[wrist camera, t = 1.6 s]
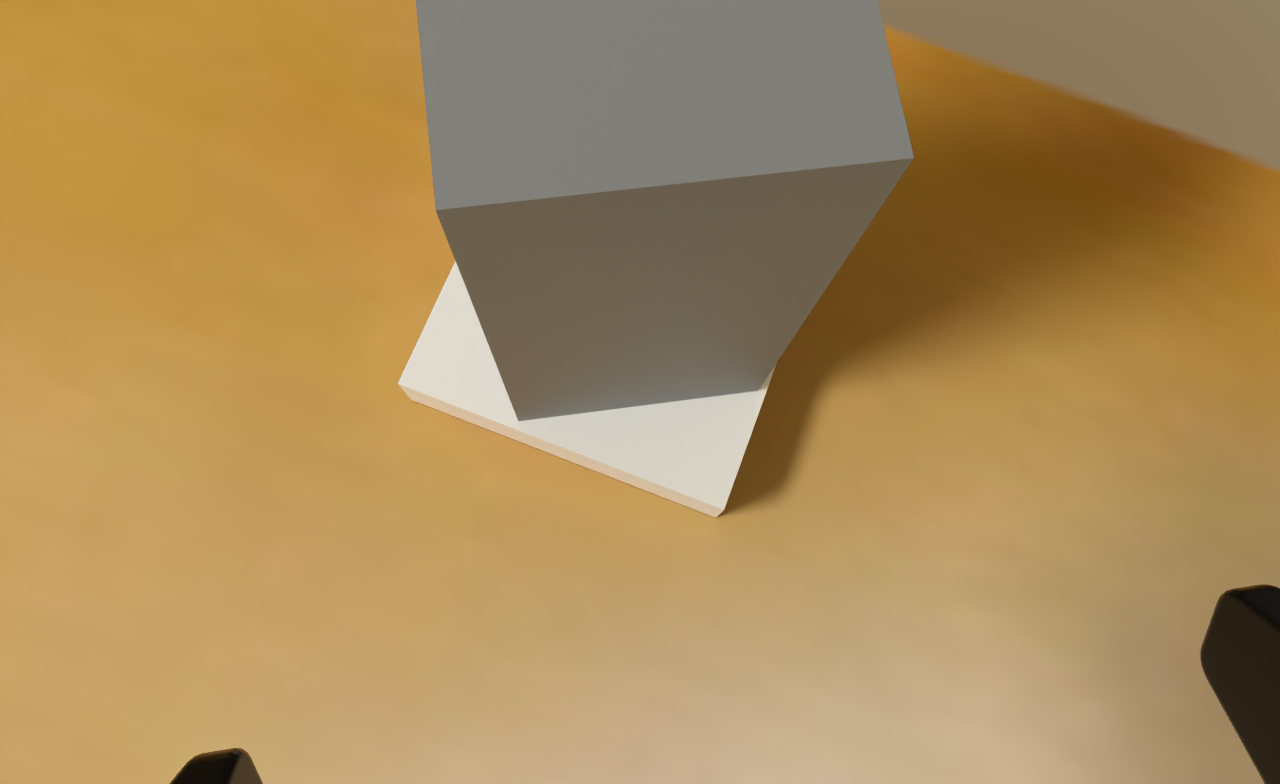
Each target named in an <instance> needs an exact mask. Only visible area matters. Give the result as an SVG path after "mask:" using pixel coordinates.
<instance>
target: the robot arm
mask: <svg viewBox="0 0 1280 784" xmlns="http://www.w3.org/2000/svg"><path fill="white" fill-rule="evenodd" d="M1201 663H1202V667H1203V670H1204V673H1205V676H1206V678H1207V680H1208V682H1209V683H1210V685H1211V687H1212V689H1213V691H1214V692H1215V694H1216V696H1217V698H1218V700H1219V701H1220V703H1221V705H1222V707H1223V709H1224V711H1225V712H1226V714H1227V716H1228V718H1229V720H1230V721H1231V723H1232V725H1233V727H1234V729H1235V730H1236V732H1237V734H1238V736H1239V738H1240V740H1241V741H1242V743H1243V745H1244V747H1245V749H1246V750H1247V752H1248V754H1249V756H1250V758H1251V759H1252V761H1253V763H1254V765H1255V767H1256V769H1257V770H1258V772H1259V774H1260V776H1261V778H1262V779H1263V781H1264V783H1265V784H1280V588H1278V587H1275V586H1271V585H1255V586H1249V587H1243V588H1236V589H1231V590H1228V591H1226V592H1225V593H1223V594H1222V595H1221V596H1220V598H1219V600H1218V602H1217V604H1216V607H1215V610H1214V613H1213V616H1212V618H1211V621H1210V624H1209V627H1208V630H1207V633H1206V635H1205V638H1204V641H1203V644H1202V647H1201ZM170 784H263V783H262V781H261V779H260V776H259V774H258V772H257V770H256V768H255V766H254V764H253V761H252V759H251V757H250V756H249V754H248V753H247V752H246V751H245V750H243V749H241V748H233V749H226V750H220V751H214V752H208V753H203V754H199V755H197V756H195V757H193V758H192V759H191V760H190V761H188V762H187V763H186V765H185V766H184V767H183V768H182V769H181V770H180V772H179V773H178V774H177V775H176V777H175V778H174V779H173V780H172V781H171V783H170Z"/></svg>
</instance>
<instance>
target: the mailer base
mask: <svg viewBox="0 0 1280 784" xmlns="http://www.w3.org/2000/svg"><path fill="white" fill-rule="evenodd" d="M776 364H777V363H776ZM775 367H776V365H775V366H774V368H773V369H772V371H771V372H770V374H769V375H768V377H767V378H766V380H765V381H764V383H763V384H762V386H761V387H760V389H759V390H758V391H752V392H745V393H737V394H729V395H721V396H713V397H705V398H697V399H690V400H682V401H674V402H666V403H658V404H650V405H643V406H635V407H627V408H619V409H611V410H603V411H595V412H588V413H580V414H572V415H564V416H556V417H548V418H540V419H533V420H525V421H518V419H517V417H516V414H515V411H514V409H513V406H512V404H511V401H510V399H509V396H508V394H507V391H506V388H505V386H504V383H503V381H502V378H501V376H500V373H499V371H498V368H497V365H496V363H495V360H494V358H493V355H492V353H491V350H490V348H489V345H488V342H487V340H486V337H485V335H484V332H483V330H482V327H481V324H480V322H479V319H478V317H477V314H476V312H475V309H474V307H473V304H472V301H471V299H470V296H469V294H468V291H467V289H466V286H465V284H464V281H463V278H462V276H461V273H460V271H459V268H458V266H457V263H456V261H455V263H454V265H453V267H452V270H451V272H450V274H449V276H448V278H447V280H446V282H445V284H444V287H443V289H442V291H441V293H440V295H439V297H438V299H437V301H436V304H435V306H434V308H433V310H432V312H431V314H430V316H429V319H428V321H427V323H426V325H425V327H424V329H423V331H422V333H421V336H420V338H419V340H418V342H417V344H416V346H415V348H414V350H413V353H412V355H411V357H410V359H409V361H408V363H407V365H406V367H405V370H404V372H403V374H402V376H401V378H400V380H399V382H398V384H399V386H400V387H401V388H402V389H403V390H404V392H405V393H406V394H407V395H408V397H409V398H410V399H411V400H414V401H416V402H419V403H422V404H424V405H427V406H429V407H432V408H434V409H437V410H440V411H442V412H445V413H447V414H450V415H452V416H455V417H458V418H460V419H463V420H465V421H468V422H471V423H473V424H476V425H478V426H481V427H483V428H486V429H489V430H491V431H494V432H496V433H499V434H501V435H504V436H507V437H509V438H512V439H514V440H517V441H520V442H522V443H525V444H527V445H530V446H532V447H535V448H538V449H540V450H543V451H545V452H548V453H550V454H553V455H556V456H558V457H561V458H563V459H566V460H569V461H571V462H574V463H576V464H579V465H581V466H584V467H587V468H589V469H592V470H594V471H597V472H599V473H602V474H605V475H607V476H610V477H612V478H615V479H618V480H620V481H623V482H625V483H628V484H630V485H633V486H636V487H638V488H641V489H643V490H646V491H648V492H651V493H654V494H656V495H659V496H661V497H664V498H667V499H669V500H672V501H674V502H677V503H679V504H682V505H685V506H687V507H690V508H692V509H695V510H697V511H700V512H703V513H705V514H708V515H710V516H713V517H717V516H718V515H719V514H720V513H721V512H722V511H723V510H724V509H725V506H726V503H727V500H728V498H729V495H730V492H731V489H732V486H733V484H734V481H735V478H736V475H737V472H738V470H739V467H740V464H741V461H742V459H743V456H744V453H745V450H746V447H747V445H748V442H749V439H750V436H751V434H752V431H753V428H754V425H755V422H756V420H757V417H758V414H759V411H760V408H761V406H762V403H763V400H764V397H765V395H766V392H767V389H768V386H769V383H770V381H771V378H772V375H773V372H774V369H775Z"/></svg>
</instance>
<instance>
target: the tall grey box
mask: <svg viewBox="0 0 1280 784" xmlns="http://www.w3.org/2000/svg"><path fill="white" fill-rule="evenodd" d="M416 6H417V16H418V27H419V38H420V48H421V59H422V69H423V80H424V90H425V101H426V112H427V122H428V133H429V143H430V154H431V164H432V175H433V186H434V196H435V207H436V212H437V214H438V217H439V220H440V222H441V225H442V227H443V230H444V232H445V235H446V237H447V240H448V243H449V245H450V248H451V250H452V253H453V255H454V258H455V261H456V263H457V266H458V268H459V271H460V273H461V276H462V278H463V281H464V284H465V286H466V289H467V291H468V294H469V296H470V299H471V301H472V304H473V307H474V309H475V312H476V314H477V317H478V319H479V322H480V324H481V327H482V330H483V332H484V335H485V337H486V340H487V342H488V345H489V348H490V350H491V353H492V355H493V358H494V360H495V363H496V365H497V368H498V371H499V373H500V376H501V378H502V381H503V383H504V386H505V388H506V391H507V394H508V396H509V399H510V401H511V404H512V406H513V409H514V411H515V414H516V417H517V419H518V421H525V420H533V419H540V418H548V417H556V416H564V415H572V414H580V413H588V412H595V411H603V410H611V409H619V408H627V407H635V406H643V405H650V404H658V403H666V402H674V401H682V400H690V399H697V398H705V397H713V396H721V395H729V394H737V393H745V392H752V391H758V390H759V389H760V387H761V386H762V384H763V383H764V381H765V380H766V378H767V377H768V375H769V374H770V372H771V371H772V369H773V368H774V366H775V365H776V363H777V362H778V360H779V359H780V357H781V356H782V354H783V353H784V351H785V350H786V348H787V347H788V345H789V344H790V342H791V341H792V339H793V338H794V336H795V335H796V333H797V332H798V330H799V329H800V327H801V326H802V324H803V323H804V321H805V320H806V319H807V317H808V316H809V314H810V313H811V311H812V310H813V308H814V307H815V305H816V304H817V302H818V301H819V299H820V298H821V296H822V295H823V293H824V292H825V290H826V289H827V287H828V286H829V284H830V283H831V281H832V280H833V278H834V277H835V275H836V274H837V272H838V271H839V269H840V268H841V266H842V265H843V263H844V262H845V260H846V259H847V257H848V256H849V254H850V253H851V251H852V250H853V248H854V247H855V246H856V244H857V243H858V241H859V240H860V238H861V237H862V235H863V234H864V232H865V231H866V229H867V228H868V226H869V225H870V223H871V222H872V220H873V219H874V217H875V216H876V214H877V213H878V211H879V210H880V208H881V207H882V205H883V204H884V202H885V201H886V199H887V198H888V196H889V195H890V193H891V192H892V190H893V189H894V187H895V186H896V184H897V183H898V181H899V180H900V178H901V177H902V175H903V174H904V173H905V171H906V170H907V168H908V167H909V165H910V164H911V162H912V161H913V159H914V155H913V151H912V146H911V142H910V138H909V134H908V129H907V125H906V121H905V117H904V112H903V108H902V104H901V99H900V95H899V91H898V87H897V82H896V78H895V74H894V70H893V65H892V61H891V57H890V53H889V48H888V44H887V40H886V36H885V31H884V27H883V23H882V19H881V15H880V10H879V6H878V2H877V0H416Z"/></svg>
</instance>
